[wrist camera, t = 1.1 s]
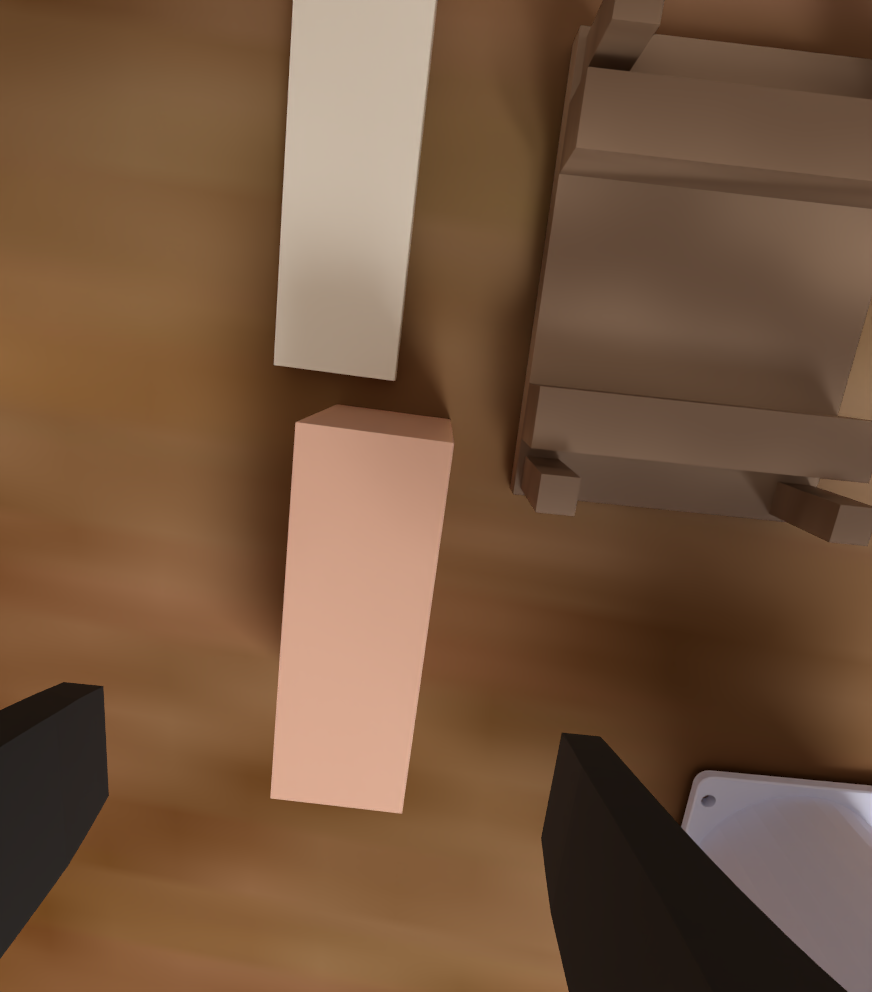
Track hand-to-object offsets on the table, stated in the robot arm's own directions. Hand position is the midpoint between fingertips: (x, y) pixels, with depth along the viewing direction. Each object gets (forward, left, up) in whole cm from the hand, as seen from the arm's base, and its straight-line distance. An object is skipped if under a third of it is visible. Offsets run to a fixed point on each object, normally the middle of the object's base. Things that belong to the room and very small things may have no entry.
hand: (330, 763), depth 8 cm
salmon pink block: (0, 0, -10) cm, 10 cm away
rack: (+9, -8, -9) cm, 15 cm away
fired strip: (+11, +2, -10) cm, 15 cm away
